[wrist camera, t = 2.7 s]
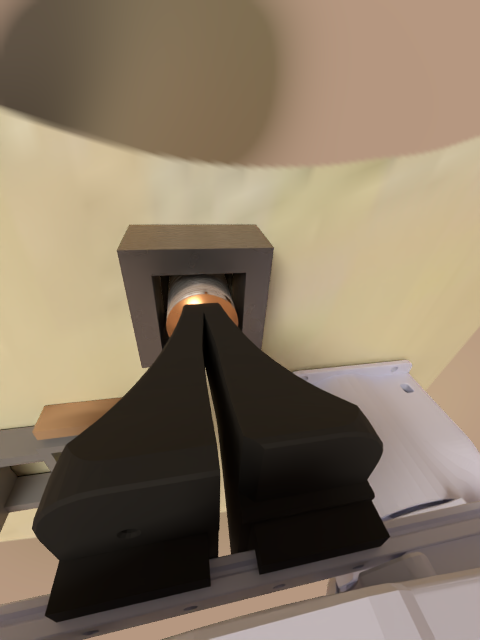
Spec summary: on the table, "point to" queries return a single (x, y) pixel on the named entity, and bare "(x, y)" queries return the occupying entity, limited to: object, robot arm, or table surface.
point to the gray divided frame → (21, 448)
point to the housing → (70, 418)
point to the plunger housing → (193, 258)
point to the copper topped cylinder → (197, 295)
